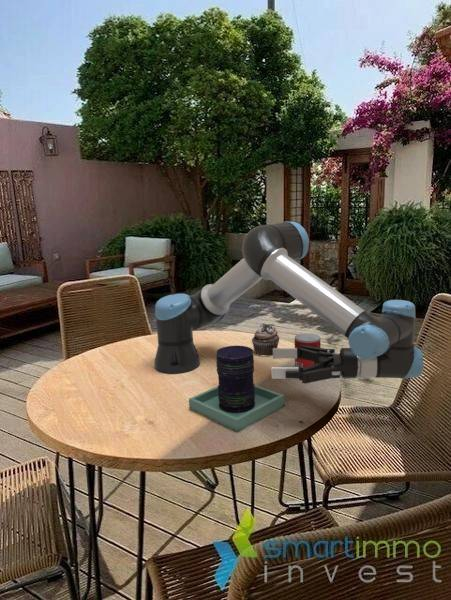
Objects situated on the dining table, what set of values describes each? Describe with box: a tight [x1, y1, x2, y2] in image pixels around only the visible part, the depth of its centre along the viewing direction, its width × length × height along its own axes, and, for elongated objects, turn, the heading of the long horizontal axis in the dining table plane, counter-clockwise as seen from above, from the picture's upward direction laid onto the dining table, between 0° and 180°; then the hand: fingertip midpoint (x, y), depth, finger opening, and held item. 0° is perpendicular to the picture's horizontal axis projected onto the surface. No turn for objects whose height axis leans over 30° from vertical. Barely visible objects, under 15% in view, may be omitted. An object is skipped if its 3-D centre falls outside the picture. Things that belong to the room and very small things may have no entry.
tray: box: [188, 384, 285, 433], centre depth 123 cm, size 18×18×3 cm
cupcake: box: [251, 323, 280, 356], centre depth 162 cm, size 10×10×10 cm
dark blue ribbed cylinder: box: [215, 345, 255, 413], centre depth 121 cm, size 10×10×15 cm
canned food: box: [294, 332, 322, 368], centre depth 144 cm, size 8×8×11 cm
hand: (272, 362), depth 119 cm, fingers open, 13 cm apart
